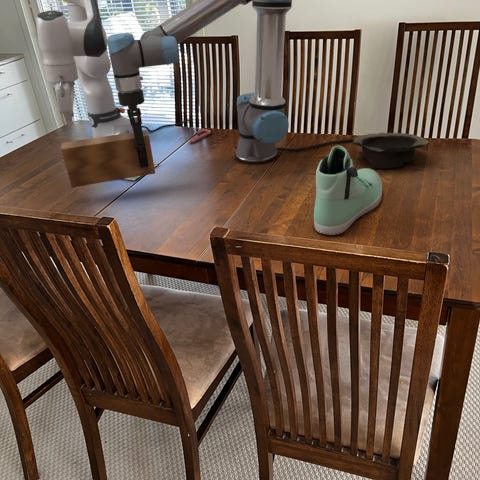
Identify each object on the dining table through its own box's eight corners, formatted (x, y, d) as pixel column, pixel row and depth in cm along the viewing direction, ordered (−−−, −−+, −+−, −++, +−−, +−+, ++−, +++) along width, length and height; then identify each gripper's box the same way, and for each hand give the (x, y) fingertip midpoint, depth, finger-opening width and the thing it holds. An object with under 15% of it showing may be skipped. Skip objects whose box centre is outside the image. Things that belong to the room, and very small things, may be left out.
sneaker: (389, 187, 148) (396, 123, 138) (356, 242, 123) (361, 168, 112) (346, 181, 154) (350, 119, 144) (306, 232, 129) (307, 161, 118)
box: (71, 187, 149) (60, 149, 142) (72, 180, 154) (61, 142, 147) (155, 173, 154) (148, 135, 147) (153, 166, 159) (146, 129, 152)
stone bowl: (386, 179, 152) (387, 151, 148) (337, 161, 173) (337, 136, 168) (443, 160, 161) (445, 133, 157) (390, 145, 182) (391, 120, 177)
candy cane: (180, 142, 197) (179, 139, 196) (203, 131, 207) (202, 127, 206) (191, 144, 194) (191, 141, 193) (214, 133, 204) (213, 129, 203)
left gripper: (71, 79, 131) (81, 129, 137) (73, 66, 148) (81, 111, 155) (47, 81, 129) (57, 131, 136) (52, 68, 146) (61, 113, 153)
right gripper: (145, 96, 135) (158, 172, 147) (139, 81, 151) (151, 151, 163) (118, 99, 133) (134, 176, 145) (115, 84, 149) (129, 154, 161)
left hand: (70, 120), depth 145 cm, fingers open, 8 cm apart
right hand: (143, 162), depth 154 cm, fingers closed on box, 6 cm apart
